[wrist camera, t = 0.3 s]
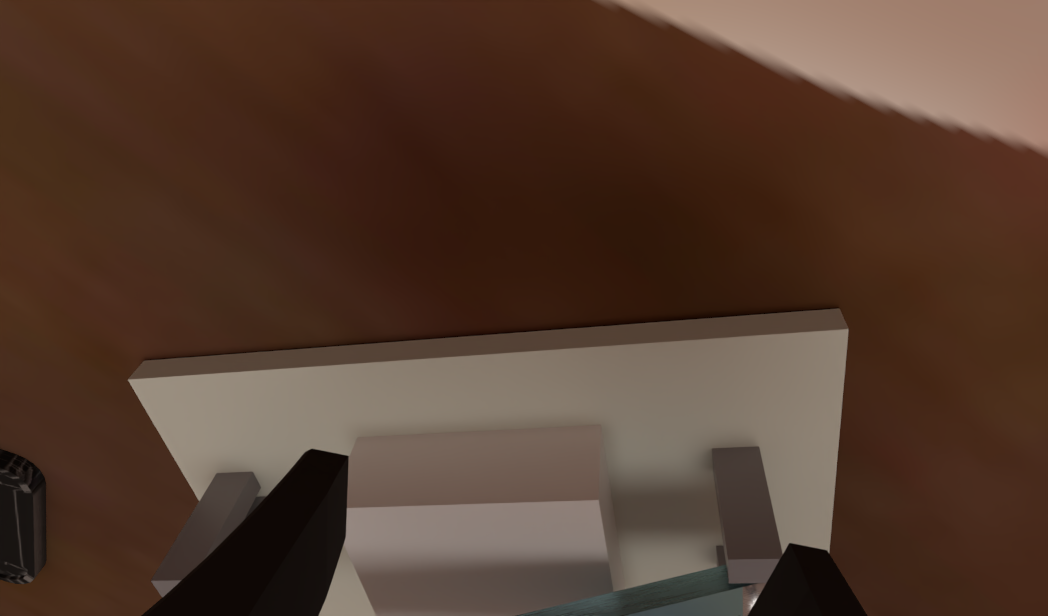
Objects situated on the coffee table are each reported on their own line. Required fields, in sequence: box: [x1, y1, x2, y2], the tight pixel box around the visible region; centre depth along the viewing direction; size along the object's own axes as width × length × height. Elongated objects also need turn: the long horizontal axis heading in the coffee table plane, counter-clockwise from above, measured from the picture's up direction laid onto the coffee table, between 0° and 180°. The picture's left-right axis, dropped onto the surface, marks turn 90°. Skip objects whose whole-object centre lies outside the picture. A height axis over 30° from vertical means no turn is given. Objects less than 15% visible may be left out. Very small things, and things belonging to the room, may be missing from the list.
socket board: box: [128, 308, 849, 616], centre depth 24 cm, size 14×22×5 cm, turn 100°
